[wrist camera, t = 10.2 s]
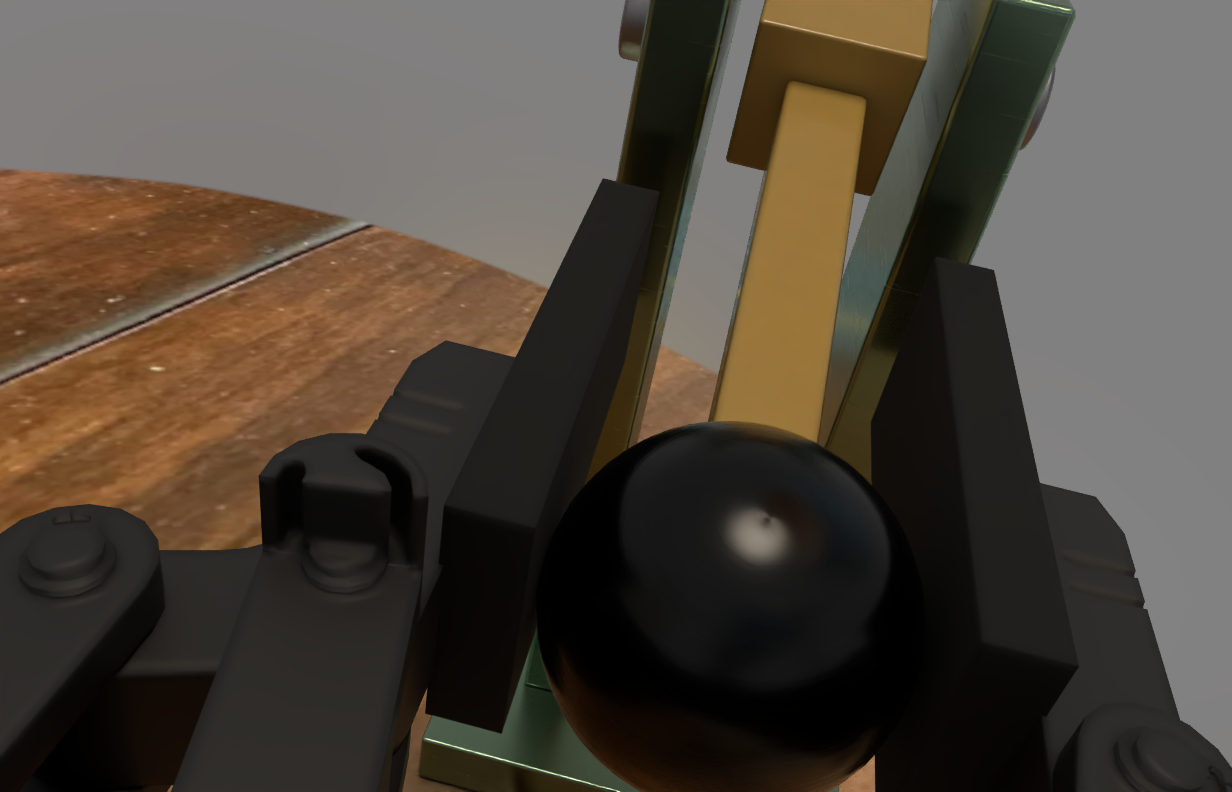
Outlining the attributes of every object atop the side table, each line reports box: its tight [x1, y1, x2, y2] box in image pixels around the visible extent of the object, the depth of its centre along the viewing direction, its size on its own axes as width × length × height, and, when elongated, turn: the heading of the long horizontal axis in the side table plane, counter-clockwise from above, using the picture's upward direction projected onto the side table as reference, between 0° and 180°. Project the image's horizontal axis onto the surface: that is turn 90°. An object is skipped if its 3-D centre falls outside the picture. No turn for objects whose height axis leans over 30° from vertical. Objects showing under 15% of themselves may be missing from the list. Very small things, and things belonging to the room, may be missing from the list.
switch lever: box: [536, 0, 933, 792], centre depth 13 cm, size 12×4×4 cm, turn 169°
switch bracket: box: [419, 0, 1075, 792], centre depth 19 cm, size 8×8×16 cm
